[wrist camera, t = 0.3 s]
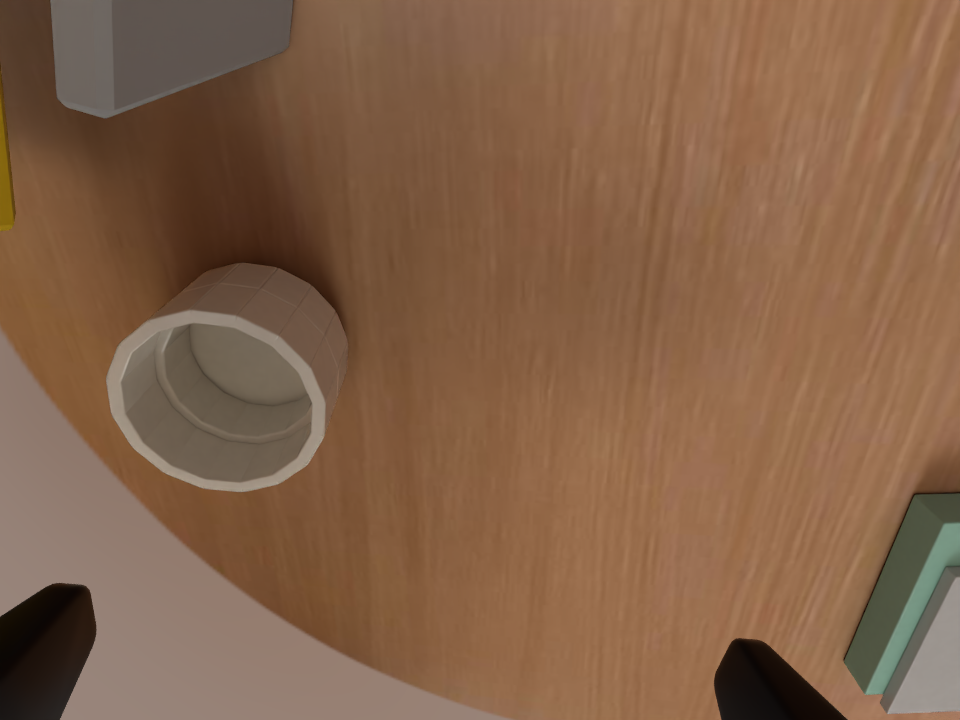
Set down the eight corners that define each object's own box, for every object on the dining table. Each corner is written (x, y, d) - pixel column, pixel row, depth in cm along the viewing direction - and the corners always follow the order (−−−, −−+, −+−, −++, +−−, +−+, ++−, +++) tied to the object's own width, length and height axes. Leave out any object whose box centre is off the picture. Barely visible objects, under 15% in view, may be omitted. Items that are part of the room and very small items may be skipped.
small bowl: (345, 420, 22) (321, 500, 18) (183, 402, 22) (120, 481, 18) (354, 271, 20) (328, 326, 16) (170, 247, 19) (92, 297, 15)
